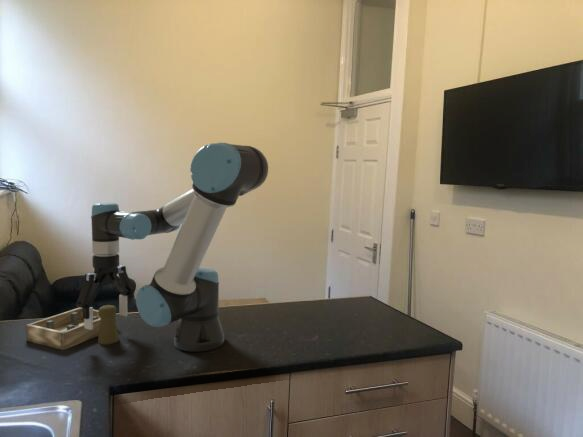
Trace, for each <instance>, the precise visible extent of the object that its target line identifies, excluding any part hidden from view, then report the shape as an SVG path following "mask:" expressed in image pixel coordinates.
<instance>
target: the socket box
mask: <svg viewBox="0 0 583 437" xmlns="http://www.w3.org/2000/svg"><path fill="white" fill-rule="evenodd" d="M98 311H99V309H94V308H93V329H92V330H90V329H85V328H84V319H83V316H82V308H80V307H75V308H73V309H70V310H68V311H65V312H61V313H58V314H55V315H52V316H49V317H46V318H44V319H39V320H37V321H33V322H31V323H28V324H25V334H26V341H27V342H31V343H33V344H38V345H42V346H45V347H50V348H54V349H58V350H62V351H64V350H67V349H69V348H71V347H74V346H77V345H79V344H81V343H84V342H86V341H89V340H92V339H94V338H96V337H99V328H100V319H101V317H100V316H99V314H98ZM116 315H117V314H116ZM116 315H115V320H116V321H117V316H116Z"/></svg>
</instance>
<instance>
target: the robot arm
mask: <svg viewBox="0 0 583 437" xmlns="http://www.w3.org/2000/svg"><path fill="white" fill-rule="evenodd" d="M189 171H190V173H191V175H190V177H191V180H192V184H191V185H192V186H191V188H192V189H190V190H188V191H186V192H185V193H183V194H182V195H179V196H178V197H176V198H174V199H173V200H171V201H169V202H168V203H166V204H165V205H163V206H161V207H160V208H156V209H149V210H140V211H121V210H120V208H119V204H117V203H115V202H96V203H93V205H92V206H91V215H90V216H91V217H90V218H91V244H92V247H91V248H92V250H91V251H92V252H91V253H92V254H93V255H92V258H91V259H92V260H91V262H92V268H93V269H94V270H93V271H94V272H93V273H89V272H87V273H84V282H83V283H82V286H81V289H80V292H79V295H78V298H77V299H76V300H77V301H76V303H75V308H79V307H80V308H82V316H83V319H84V328H85V329H90V330H92V329H93V309H94V307H93V306H92V304H93V303H94V301H95V299H96V298H97V296H98V294H99V292H100V291H101V289H102V288H104V287H105V286H107V285H108V284H110V285H111V284H112V285H113V286H114V287H115V288H116V290H118V291H119V293H120V294H119V295H118V301H119V302H118V303H119V305H118V308H119V310H118V311H119V314H118V315H119V316H124V317H127V316H128V305H129V296H131V295H132V292H134V287H133V285H132V282H131V280H130V278H129V275H128V273H127V268H126V265H121V264H120V254H119V253H120V238H122V239H123V238H124V239H129V240H132V241H133V240H144V239H145V238H147V237H148V236H152V235H158V234H159V235H160V234H161V235H162V234H168V233H172V232H175V231H178V229H179V231H178V233H177V236H176V238H175V241H174V242H173V244H172V247H171V250H170V252H169V254H168V257H167V259H166V261H165V264H164V265H163V267H159V268H158V269H156V271H155V272H154V274H153V277H152V279H151V281H150V283H149V284H145V285H143V286H141V287H140V288H139V289H138V290H137V293H136V296H135V305H136V308H137V311H138V314H139V316H140V317H141V319H142V320H143V321H144V322H145V323H146V324H147V325H149V326H151V327H154V328H160V327H162V326H168V325H169V324H172V323H174V322H176V321H178V320H179V321H178V324H177V327H176V330H175V333H174V337H173V344H174V345H173V346H174V348H176V349H178V350H180V351H183V352H188V353H189V352H191V353H194V352H195V353H199V352H206V351H207V352H208V351H212V350H215V349H218V348H219V347H221V346H222V345H224V342H225V332H224V331H223V327H222V324H221V320H220V318H219V316H220V315H219V303H220V302H219V300H220V298H219V296H220V295H219V291H220V290H219V287H220V286H219V284H220V282H219V273H218V272H217V271H216V270H214V269H212V268H211V269H210V268H203V267H200V266H201V264H202V262H203V260H204V258H205V255H206V253H207V251H208V249H209V247H210V246H211V243H212V241H213V238H214V237H215V234H216V232H217V231H218V230H217V229H218V227H219V226H220V223H221V221H222V219H223V216H224V214H225V212H226V211H227V209H228V208H231V207H233V206H235V205H236V202H237V201H238V199H239V197H242V196H244V195H245V194H249V192H252V191H254V190H256V189H258V188H259V187H261V186H262V185H263V184H264V183H265V181H266V180H267V177H268V175H269V162H268V160H267V158H266V156H265V155H264V153H263V152H262V151H261V150H259V149H258V148H256V147H254V146H251V145H240V144H232V143H228V142H216V143H215V142H214V143H209V144H208V143H207V144H206V145H204V146H202V147H200V148H199V149H198V150H197V151H196V153H195V154H194V156H193V158H192V160H191V162H190V170H189Z"/></svg>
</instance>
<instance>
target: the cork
mask: <svg viewBox="0 0 583 437" xmlns="http://www.w3.org/2000/svg"><path fill="white" fill-rule="evenodd" d="M98 310H99V311H98V314H99V316H100V317H101V319H100V328H99V336H97V337H98V338H97V343H98V344H100V345H112V344H115V343H117V342H118V341H119V340H120V338H119V331H118V326H117V319H116V320H115V315H117V307H116V305H111V304H106V305H102V306H100V307H99V309H98Z"/></svg>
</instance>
